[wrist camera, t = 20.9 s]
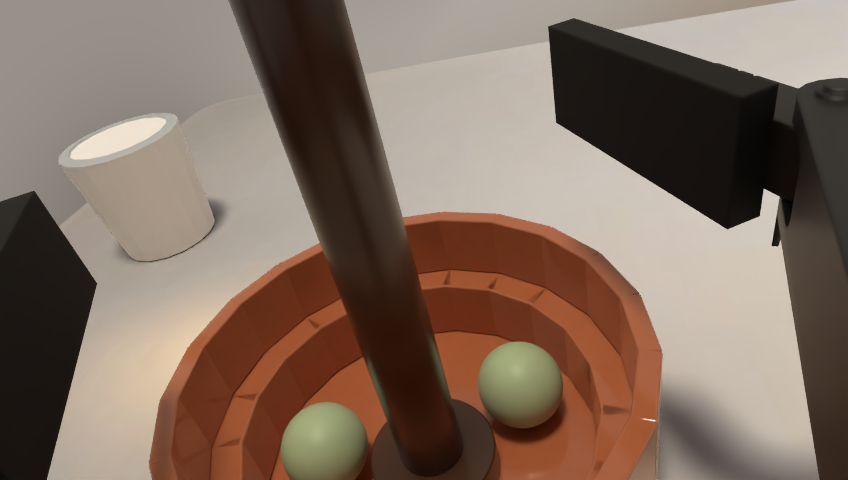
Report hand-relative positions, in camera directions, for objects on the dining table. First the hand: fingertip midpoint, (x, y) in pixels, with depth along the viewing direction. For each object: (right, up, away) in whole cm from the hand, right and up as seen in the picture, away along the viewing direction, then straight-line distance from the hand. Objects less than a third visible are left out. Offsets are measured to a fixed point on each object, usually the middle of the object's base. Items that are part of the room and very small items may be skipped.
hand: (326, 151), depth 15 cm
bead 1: (-1, -9, +4) cm, 10 cm away
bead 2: (+6, -7, +5) cm, 10 cm away
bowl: (+3, -10, +5) cm, 11 cm away
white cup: (-14, -2, +23) cm, 27 cm away
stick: (+3, -10, +4) cm, 11 cm away
